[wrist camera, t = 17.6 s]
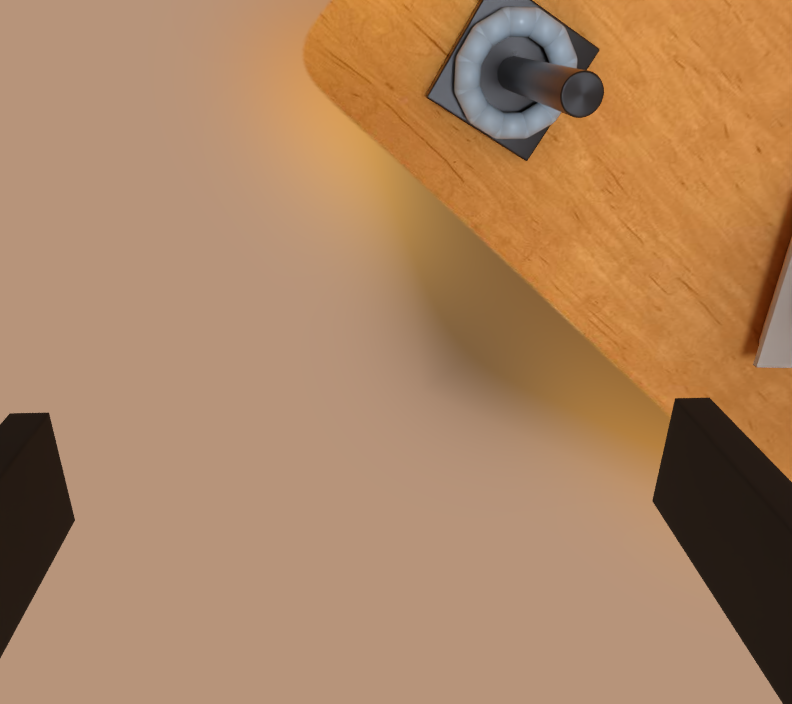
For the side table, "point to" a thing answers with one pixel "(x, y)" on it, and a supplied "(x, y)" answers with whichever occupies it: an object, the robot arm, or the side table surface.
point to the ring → (478, 47)
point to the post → (523, 77)
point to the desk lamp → (778, 323)
